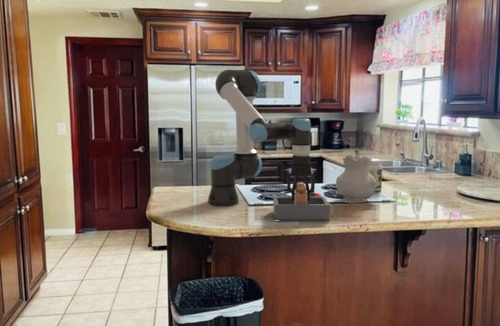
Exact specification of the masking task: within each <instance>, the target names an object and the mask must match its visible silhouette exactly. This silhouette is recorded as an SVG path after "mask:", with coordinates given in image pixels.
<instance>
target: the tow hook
mask: <svg viewBox="0 0 500 326" xmlns="http://www.w3.org/2000/svg"><path fill="white" fill-rule="evenodd" d="M310 197H322V194H320V193H318V192H317V193H316V192H315V191H314V192H312V193H310Z"/></svg>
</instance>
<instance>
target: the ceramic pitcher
mask: <svg viewBox="0 0 500 326" xmlns="http://www.w3.org/2000/svg"><path fill="white" fill-rule="evenodd" d="M354 153H355V154H354V156H353V154H348V155H345V157H344V156H343V157H342V161H343V164H344V171H343V172H342V173H341V174H339V175H338V176H337V177H336V181H335V185H336V190H337V192H338V193H339V194H340V195H341V196H342V197H343V198H342V199H343V202H345V201H346V202H345V203H347V204H357V203H358V204H359V203H360V204H361V203H367V202H368V199H366V198H369V197H370V196H372V195H373V194H374V192H376V191H375V188H376V180H375V178H374V177H373V176H372V175H371V174H370V173H369V170H368V168H369V164H370V162H371V160H372V159H373V158H372V157H368V156H366V155H363V156H362V157H361V154H360V153H361V152H360V151H359V150H358V149H357V148H356V149H355V150H354Z"/></svg>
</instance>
